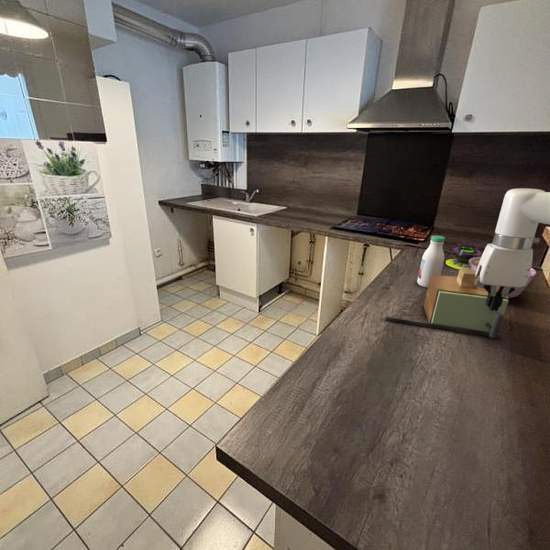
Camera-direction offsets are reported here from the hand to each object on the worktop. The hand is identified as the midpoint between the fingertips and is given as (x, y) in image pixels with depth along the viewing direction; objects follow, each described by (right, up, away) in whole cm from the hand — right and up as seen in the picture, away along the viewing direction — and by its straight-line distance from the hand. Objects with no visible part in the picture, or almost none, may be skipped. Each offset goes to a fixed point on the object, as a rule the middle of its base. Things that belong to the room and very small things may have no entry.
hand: (492, 308), depth 77 cm
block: (+1, +6, +12) cm, 13 cm away
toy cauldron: (+32, +13, +61) cm, 70 cm away
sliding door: (-2, -9, +8) cm, 12 cm away
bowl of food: (+24, +1, +33) cm, 41 cm away
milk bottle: (+4, +5, +41) cm, 41 cm away
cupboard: (-6, -5, +17) cm, 19 cm away
